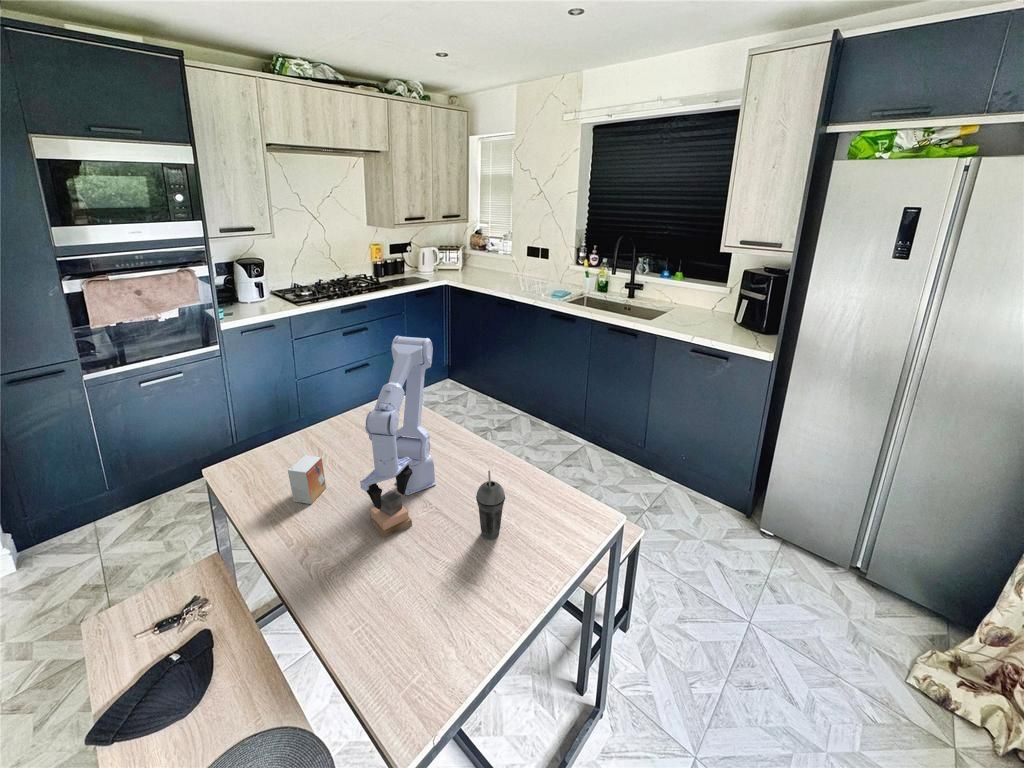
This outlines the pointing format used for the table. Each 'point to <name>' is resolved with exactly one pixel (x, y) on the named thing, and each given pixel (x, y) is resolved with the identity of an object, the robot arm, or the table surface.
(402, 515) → the terracotta slab
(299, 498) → the small box
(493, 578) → the table surface
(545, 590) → the table surface
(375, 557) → the table surface
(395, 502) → the charcoal cube
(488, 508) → the beverage cup
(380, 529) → the walnut slab
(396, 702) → the table surface
